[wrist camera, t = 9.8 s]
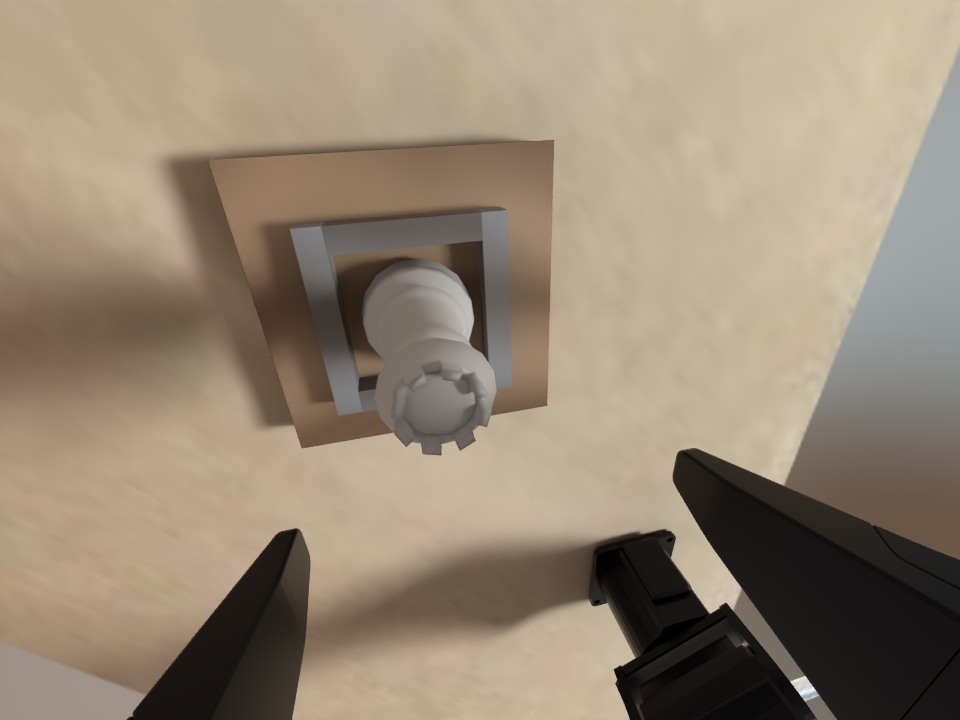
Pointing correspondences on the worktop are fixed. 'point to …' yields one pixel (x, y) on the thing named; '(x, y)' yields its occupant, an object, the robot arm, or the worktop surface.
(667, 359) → the worktop surface
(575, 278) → the worktop surface
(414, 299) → the rook chess piece
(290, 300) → the plinth
